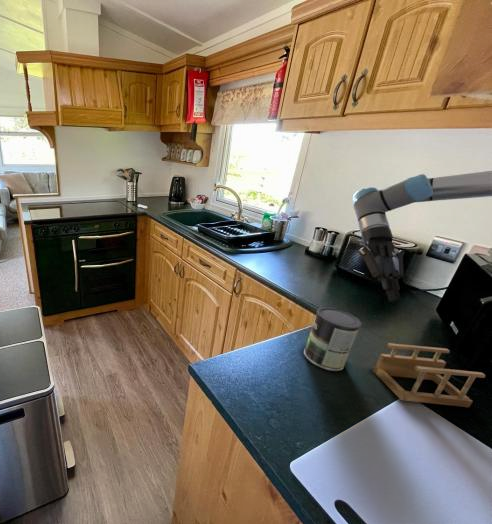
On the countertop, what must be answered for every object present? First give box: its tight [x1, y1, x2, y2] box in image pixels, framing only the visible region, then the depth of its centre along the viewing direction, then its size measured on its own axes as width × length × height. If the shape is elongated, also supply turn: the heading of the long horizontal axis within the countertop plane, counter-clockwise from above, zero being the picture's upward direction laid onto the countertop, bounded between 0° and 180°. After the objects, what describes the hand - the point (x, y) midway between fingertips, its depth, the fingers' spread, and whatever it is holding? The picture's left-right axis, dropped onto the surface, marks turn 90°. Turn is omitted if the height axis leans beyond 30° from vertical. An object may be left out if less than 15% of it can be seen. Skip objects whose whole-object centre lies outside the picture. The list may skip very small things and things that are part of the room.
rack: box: [372, 342, 486, 408], centre depth 73 cm, size 10×16×10 cm, turn 86°
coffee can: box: [303, 306, 362, 372], centre depth 81 cm, size 10×10×14 cm
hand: (394, 300), depth 84 cm, fingers closed
